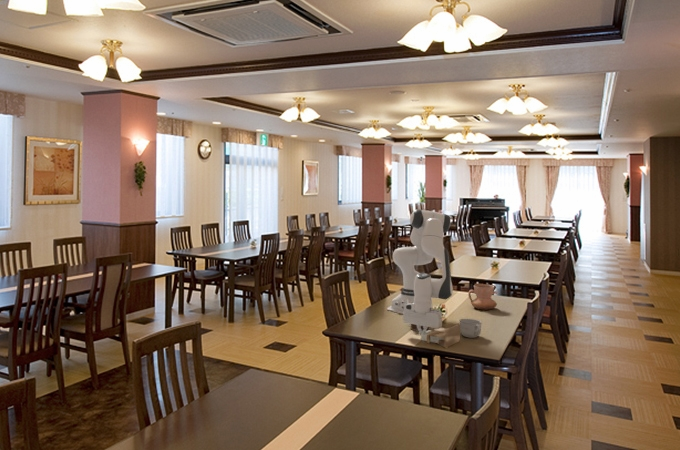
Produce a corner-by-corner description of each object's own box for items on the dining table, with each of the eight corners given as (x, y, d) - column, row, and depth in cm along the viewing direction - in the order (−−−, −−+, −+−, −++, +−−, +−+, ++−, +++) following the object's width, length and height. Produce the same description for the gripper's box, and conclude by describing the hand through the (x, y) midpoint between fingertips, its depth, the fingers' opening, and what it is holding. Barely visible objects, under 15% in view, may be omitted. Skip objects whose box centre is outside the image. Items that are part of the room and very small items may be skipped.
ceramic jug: (500, 307, 317) (500, 285, 317) (494, 312, 305) (495, 288, 304) (471, 305, 326) (471, 282, 326) (465, 309, 314) (465, 286, 313)
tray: (421, 339, 250) (421, 333, 250) (428, 336, 256) (428, 330, 256) (447, 345, 242) (447, 339, 241) (454, 341, 248) (454, 335, 248)
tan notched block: (421, 342, 246) (421, 325, 246) (434, 335, 257) (435, 319, 257) (447, 347, 238) (447, 330, 237) (460, 340, 249) (460, 324, 248)
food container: (433, 328, 271) (434, 309, 270) (431, 331, 265) (432, 312, 264) (410, 326, 275) (410, 307, 274) (408, 329, 269) (408, 310, 268)
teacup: (456, 333, 261) (456, 317, 261) (477, 332, 262) (477, 317, 262) (465, 341, 248) (465, 325, 247) (487, 341, 249) (487, 324, 248)
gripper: (444, 308, 249) (444, 336, 250) (407, 302, 261) (407, 329, 262) (438, 311, 244) (438, 339, 245) (401, 305, 256) (401, 332, 257)
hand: (422, 334), depth 254 cm, fingers closed
